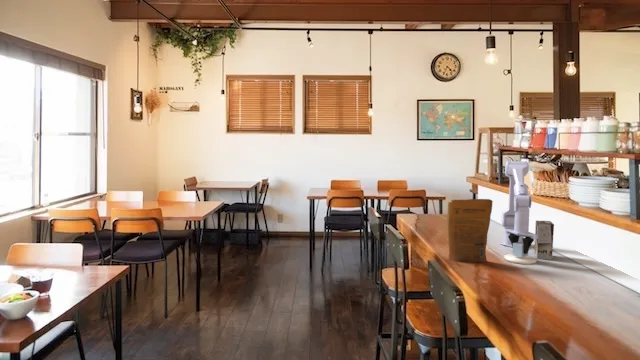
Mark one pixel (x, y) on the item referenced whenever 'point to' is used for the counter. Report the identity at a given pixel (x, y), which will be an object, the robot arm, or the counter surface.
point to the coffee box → (544, 239)
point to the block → (518, 250)
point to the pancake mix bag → (468, 229)
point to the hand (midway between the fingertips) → (520, 252)
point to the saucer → (520, 259)
